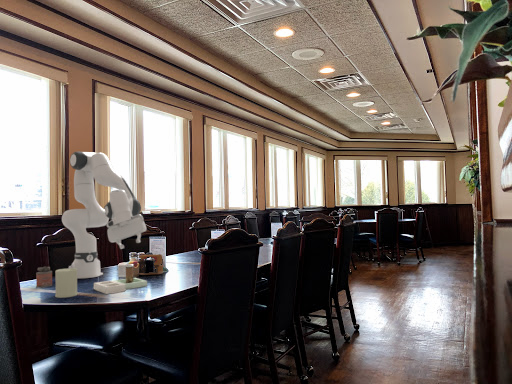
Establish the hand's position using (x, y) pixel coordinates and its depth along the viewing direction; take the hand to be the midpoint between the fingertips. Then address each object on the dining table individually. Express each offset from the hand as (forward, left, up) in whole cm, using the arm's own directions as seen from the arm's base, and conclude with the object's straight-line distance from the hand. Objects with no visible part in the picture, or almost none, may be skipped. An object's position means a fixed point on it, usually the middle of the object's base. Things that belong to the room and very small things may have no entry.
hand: (130, 245), depth 211 cm
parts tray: (0, -1, -20) cm, 20 cm away
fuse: (+1, -1, -19) cm, 19 cm away
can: (+1, -31, -20) cm, 37 cm away
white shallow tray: (+3, -12, -20) cm, 24 cm away
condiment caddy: (-28, +25, -21) cm, 43 cm away
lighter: (-31, -32, -20) cm, 49 cm away
